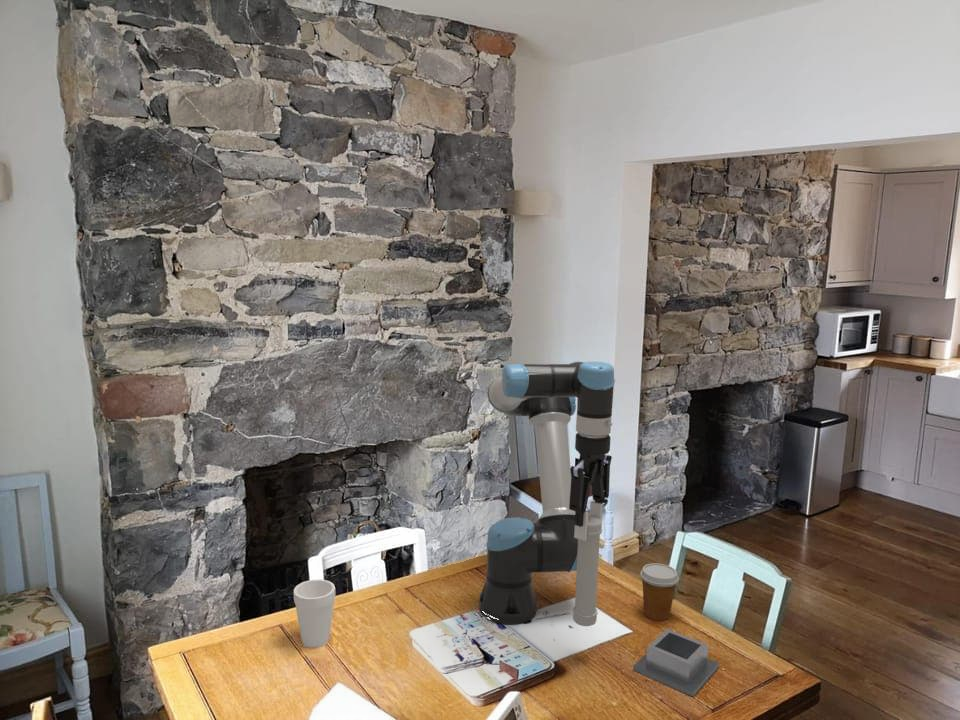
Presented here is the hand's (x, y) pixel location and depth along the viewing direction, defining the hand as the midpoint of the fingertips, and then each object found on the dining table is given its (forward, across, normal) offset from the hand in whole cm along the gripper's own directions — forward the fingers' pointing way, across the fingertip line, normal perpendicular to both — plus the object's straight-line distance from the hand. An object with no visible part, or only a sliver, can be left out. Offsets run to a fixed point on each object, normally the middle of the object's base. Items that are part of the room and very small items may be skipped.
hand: (587, 534), depth 157 cm
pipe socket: (+30, +11, -18) cm, 37 cm away
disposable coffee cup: (+30, +30, -4) cm, 43 cm away
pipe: (+21, 0, 0) cm, 21 cm away
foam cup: (+30, -36, +51) cm, 69 cm away
